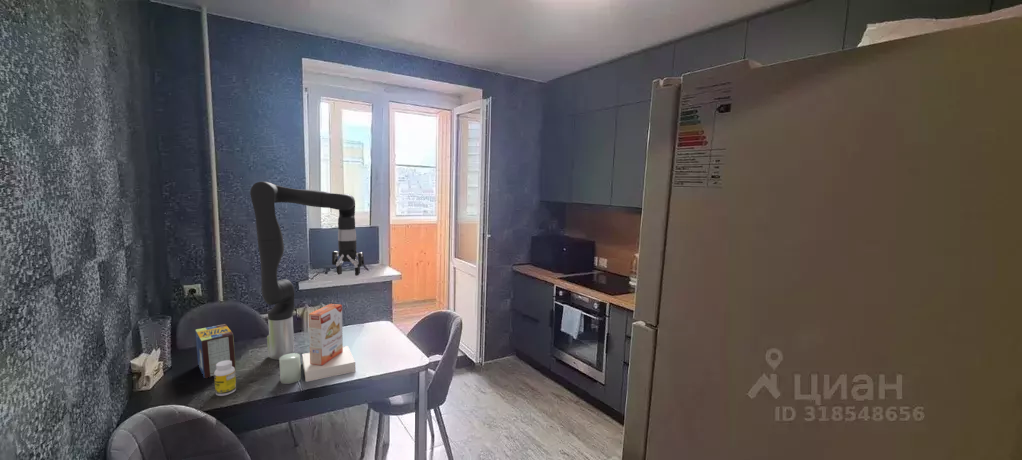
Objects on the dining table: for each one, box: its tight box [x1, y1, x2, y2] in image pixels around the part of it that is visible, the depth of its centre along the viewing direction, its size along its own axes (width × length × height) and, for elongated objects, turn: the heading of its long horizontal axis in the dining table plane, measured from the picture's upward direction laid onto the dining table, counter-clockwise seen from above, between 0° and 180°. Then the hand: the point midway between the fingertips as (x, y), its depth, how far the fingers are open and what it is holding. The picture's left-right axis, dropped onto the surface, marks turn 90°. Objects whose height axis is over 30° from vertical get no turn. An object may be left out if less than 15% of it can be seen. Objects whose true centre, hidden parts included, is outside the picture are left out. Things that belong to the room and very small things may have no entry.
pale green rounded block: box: [278, 352, 302, 385], centre depth 157 cm, size 7×7×9 cm
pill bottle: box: [213, 360, 237, 397], centre depth 146 cm, size 6×6×11 cm
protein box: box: [194, 323, 237, 379], centre depth 164 cm, size 10×15×16 cm
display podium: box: [301, 345, 356, 382], centre depth 167 cm, size 18×18×4 cm
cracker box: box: [308, 303, 344, 365], centre depth 166 cm, size 14×6×21 cm, turn 169°
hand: (348, 274), depth 183 cm, fingers open, 8 cm apart
